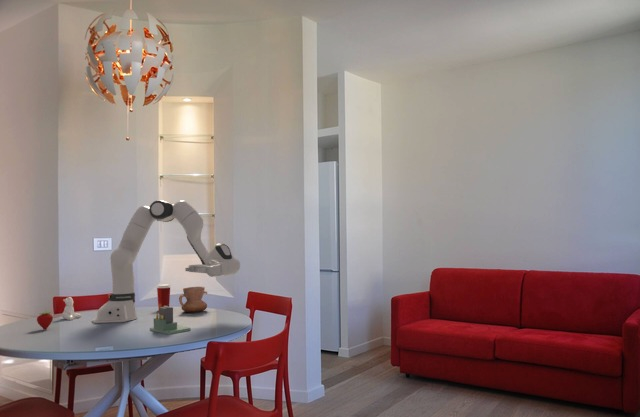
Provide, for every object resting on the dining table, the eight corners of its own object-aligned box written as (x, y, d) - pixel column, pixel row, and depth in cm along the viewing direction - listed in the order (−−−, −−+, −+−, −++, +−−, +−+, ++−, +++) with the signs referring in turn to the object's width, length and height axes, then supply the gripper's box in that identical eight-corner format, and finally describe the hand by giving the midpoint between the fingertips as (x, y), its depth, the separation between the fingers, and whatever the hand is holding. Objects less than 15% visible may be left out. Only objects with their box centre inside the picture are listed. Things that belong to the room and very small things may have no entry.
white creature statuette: (71, 320, 286) (71, 298, 286) (57, 320, 288) (57, 298, 288) (82, 317, 295) (82, 296, 296) (68, 317, 297) (68, 295, 297)
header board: (171, 326, 265) (171, 310, 265) (190, 330, 254) (190, 313, 254) (149, 330, 255) (149, 313, 256) (168, 334, 245) (168, 316, 245)
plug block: (167, 327, 257) (167, 305, 257) (173, 328, 254) (173, 306, 254) (159, 328, 253) (159, 306, 253) (164, 329, 250) (164, 307, 250)
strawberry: (34, 330, 260) (34, 309, 260) (48, 327, 266) (49, 307, 267) (40, 331, 257) (40, 310, 257) (55, 328, 263) (55, 308, 263)
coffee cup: (173, 309, 321) (172, 284, 321) (167, 311, 313) (167, 285, 313) (159, 309, 322) (159, 284, 322) (154, 311, 314) (153, 285, 314)
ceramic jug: (201, 308, 321) (201, 285, 321) (213, 311, 310) (212, 286, 310) (173, 312, 309) (173, 288, 309) (185, 315, 298) (184, 290, 298)
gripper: (201, 261, 286) (179, 263, 275) (225, 262, 272) (203, 264, 262) (201, 273, 285) (179, 275, 275) (225, 275, 272) (203, 277, 262)
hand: (191, 270), depth 268 cm, fingers open, 8 cm apart
